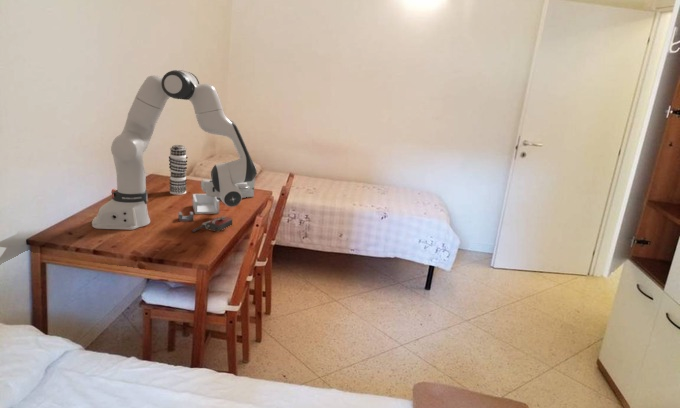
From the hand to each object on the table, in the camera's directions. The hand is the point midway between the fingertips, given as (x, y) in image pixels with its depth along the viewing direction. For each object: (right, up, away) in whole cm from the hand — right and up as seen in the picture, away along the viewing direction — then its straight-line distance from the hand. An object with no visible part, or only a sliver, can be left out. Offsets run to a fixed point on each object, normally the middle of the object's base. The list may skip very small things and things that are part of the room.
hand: (222, 180), depth 220 cm
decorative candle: (-31, -5, +32) cm, 45 cm away
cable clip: (-15, -18, -6) cm, 24 cm away
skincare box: (+3, -7, +38) cm, 38 cm away
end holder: (-10, -13, +10) cm, 20 cm away
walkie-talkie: (-1, -22, -13) cm, 26 cm away
